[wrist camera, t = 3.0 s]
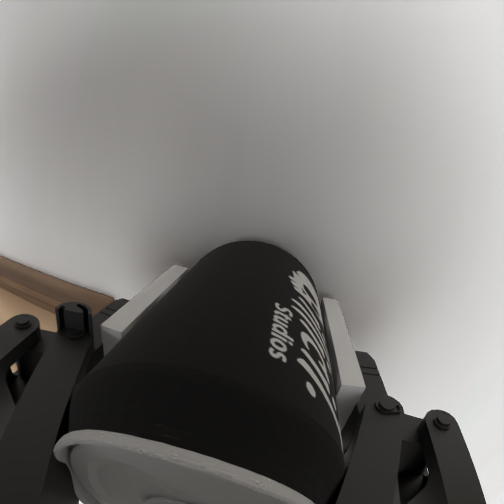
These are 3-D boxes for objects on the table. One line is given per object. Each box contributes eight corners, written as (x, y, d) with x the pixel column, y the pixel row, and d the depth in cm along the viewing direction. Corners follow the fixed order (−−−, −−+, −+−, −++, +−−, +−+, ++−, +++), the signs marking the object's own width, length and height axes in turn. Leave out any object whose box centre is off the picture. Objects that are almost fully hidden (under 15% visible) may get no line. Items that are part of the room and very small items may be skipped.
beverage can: (209, 218, 15) (6, 344, 3) (337, 264, 14) (428, 485, 3) (178, 329, 16) (59, 502, 5) (288, 368, 16) (272, 575, 5)
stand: (-2, 254, 17) (-28, 265, 14) (113, 298, 16) (85, 319, 14) (20, 373, 21) (2, 389, 18) (123, 427, 20) (107, 451, 17)
